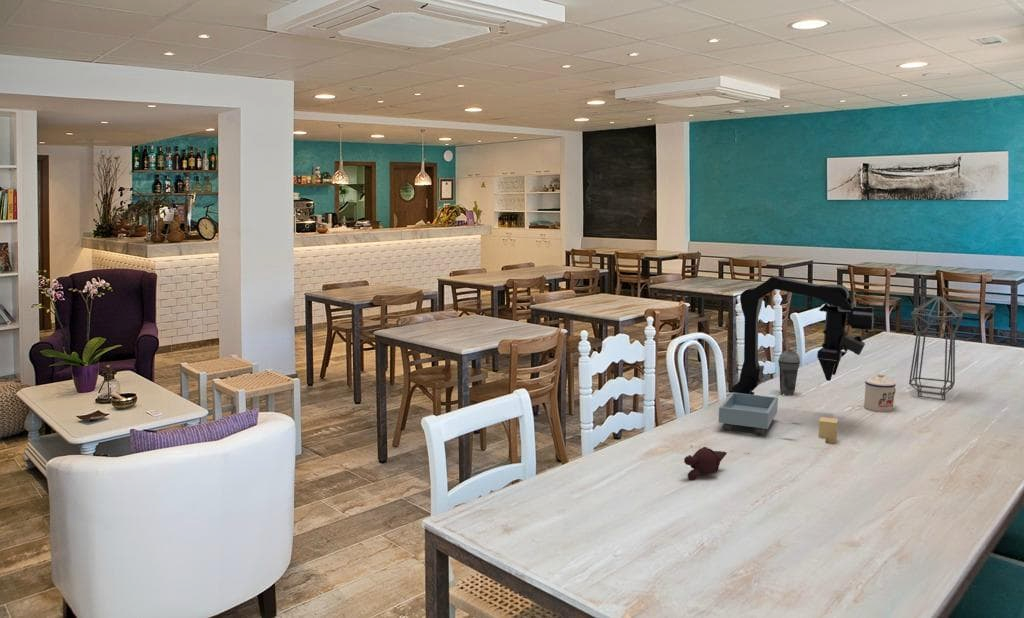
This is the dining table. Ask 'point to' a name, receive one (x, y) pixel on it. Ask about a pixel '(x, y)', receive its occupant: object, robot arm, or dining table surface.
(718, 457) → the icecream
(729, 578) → the dining table surface
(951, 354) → the geometric lantern
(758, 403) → the box
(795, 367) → the beverage cup
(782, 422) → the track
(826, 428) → the ochre block
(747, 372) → the robot arm
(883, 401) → the teacup with lid
